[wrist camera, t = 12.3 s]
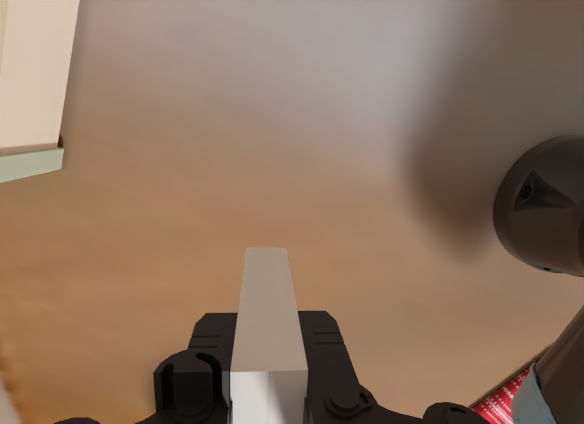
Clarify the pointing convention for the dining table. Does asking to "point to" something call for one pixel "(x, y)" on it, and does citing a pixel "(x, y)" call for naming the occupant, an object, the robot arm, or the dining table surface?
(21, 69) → the gate
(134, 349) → the dining table surface
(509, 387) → the dish towel
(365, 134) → the dining table surface
